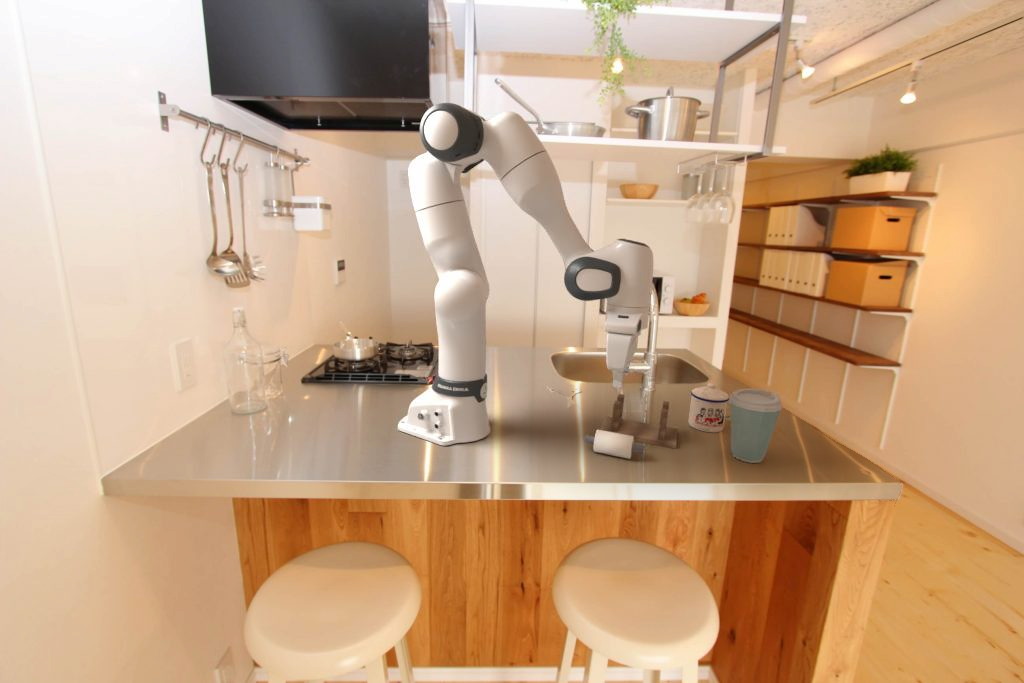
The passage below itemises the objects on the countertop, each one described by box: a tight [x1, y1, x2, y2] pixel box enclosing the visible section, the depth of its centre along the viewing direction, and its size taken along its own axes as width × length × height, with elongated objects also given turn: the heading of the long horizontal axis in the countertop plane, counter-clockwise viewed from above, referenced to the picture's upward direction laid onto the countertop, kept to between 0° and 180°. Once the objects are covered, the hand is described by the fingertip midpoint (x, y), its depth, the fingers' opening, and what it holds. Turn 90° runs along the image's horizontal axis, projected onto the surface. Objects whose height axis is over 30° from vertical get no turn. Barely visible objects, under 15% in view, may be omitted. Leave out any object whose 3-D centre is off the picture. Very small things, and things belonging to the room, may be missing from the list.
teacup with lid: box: [687, 382, 731, 433], centre depth 123 cm, size 12×9×12 cm
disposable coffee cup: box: [728, 388, 783, 464], centre depth 107 cm, size 11×11×15 cm
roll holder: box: [598, 393, 679, 449], centre depth 117 cm, size 18×10×8 cm, turn 69°
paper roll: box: [583, 429, 645, 460], centre depth 106 cm, size 13×5×5 cm, turn 69°
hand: (620, 380), depth 104 cm, fingers open, 8 cm apart
